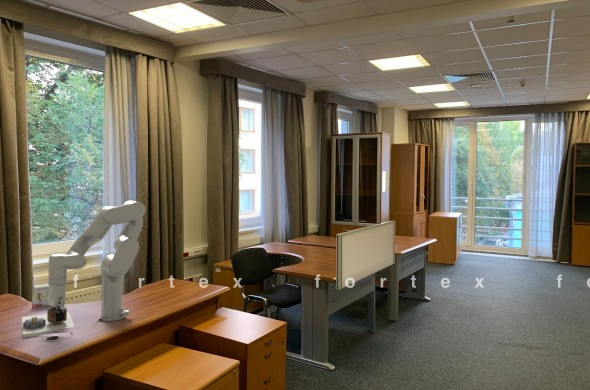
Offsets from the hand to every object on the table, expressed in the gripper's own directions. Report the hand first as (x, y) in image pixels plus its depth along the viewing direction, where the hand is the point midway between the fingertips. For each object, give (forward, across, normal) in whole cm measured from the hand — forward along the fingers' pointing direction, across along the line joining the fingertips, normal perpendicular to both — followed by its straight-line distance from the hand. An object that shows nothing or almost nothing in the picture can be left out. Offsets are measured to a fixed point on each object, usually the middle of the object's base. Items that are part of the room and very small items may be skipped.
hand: (57, 318), depth 201 cm
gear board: (+4, -5, -3) cm, 7 cm away
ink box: (+4, -36, +3) cm, 36 cm away
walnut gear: (+1, 0, 0) cm, 1 cm away
